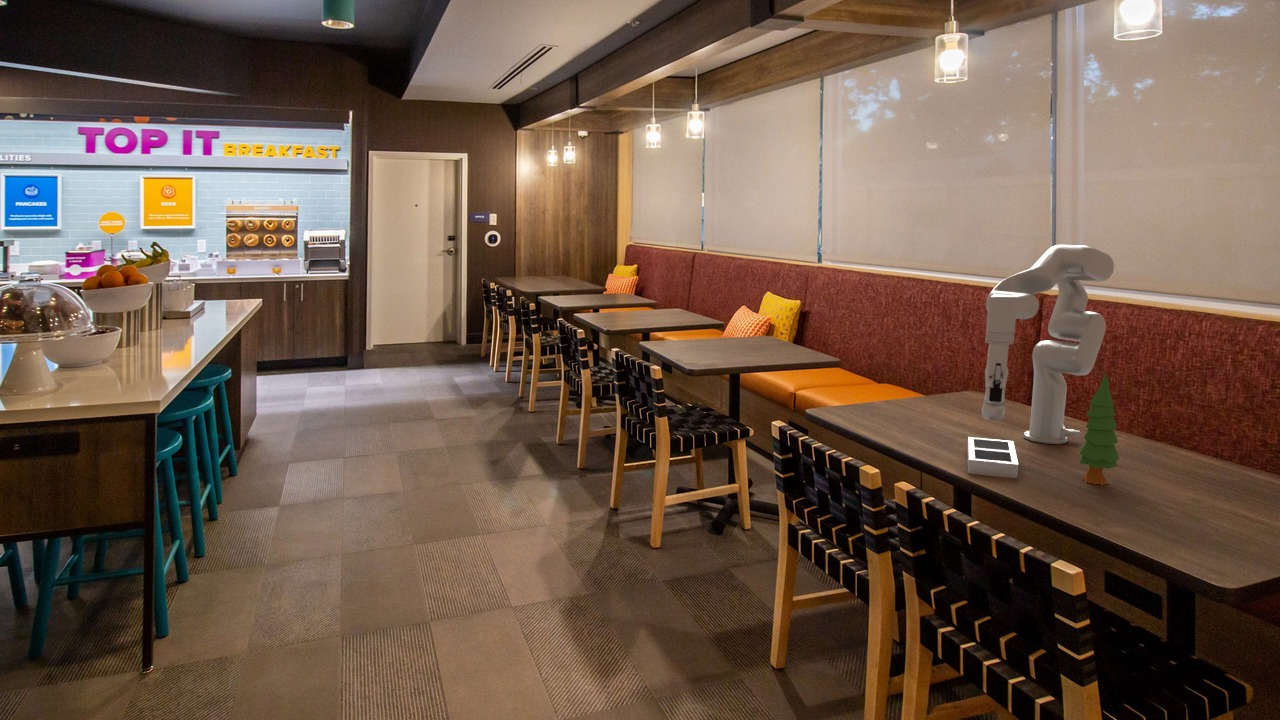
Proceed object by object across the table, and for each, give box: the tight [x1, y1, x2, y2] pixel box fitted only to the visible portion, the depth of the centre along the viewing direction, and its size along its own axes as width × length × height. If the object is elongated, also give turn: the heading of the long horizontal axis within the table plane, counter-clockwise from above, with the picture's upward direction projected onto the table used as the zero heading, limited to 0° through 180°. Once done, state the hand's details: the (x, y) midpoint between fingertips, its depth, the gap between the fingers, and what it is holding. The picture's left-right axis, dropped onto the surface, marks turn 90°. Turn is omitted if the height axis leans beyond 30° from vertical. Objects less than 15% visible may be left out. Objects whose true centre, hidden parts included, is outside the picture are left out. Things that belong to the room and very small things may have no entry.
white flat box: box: [966, 436, 1019, 479], centre depth 241 cm, size 12×24×4 cm, turn 160°
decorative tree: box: [1079, 371, 1120, 485], centre depth 222 cm, size 10×9×30 cm
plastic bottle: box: [981, 366, 1009, 422], centre depth 243 cm, size 6×7×20 cm
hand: (994, 398), depth 243 cm, fingers closed on plastic bottle, 5 cm apart
